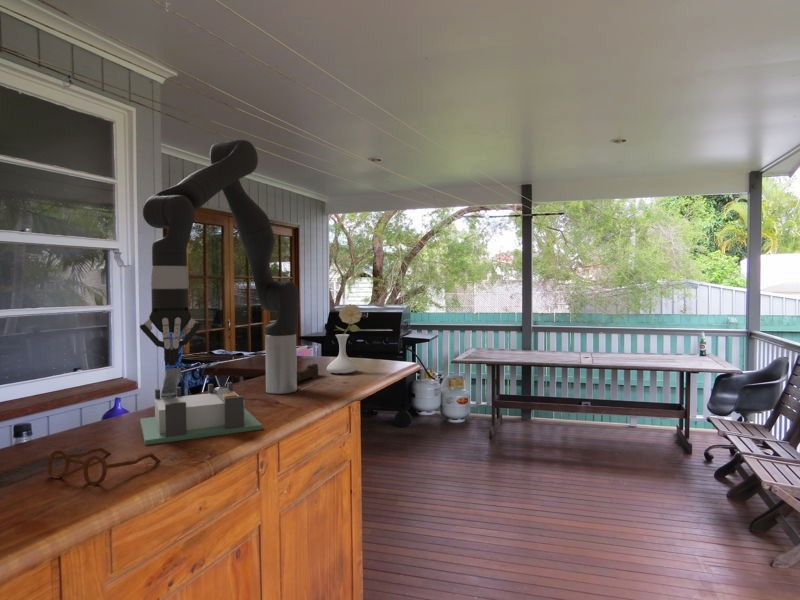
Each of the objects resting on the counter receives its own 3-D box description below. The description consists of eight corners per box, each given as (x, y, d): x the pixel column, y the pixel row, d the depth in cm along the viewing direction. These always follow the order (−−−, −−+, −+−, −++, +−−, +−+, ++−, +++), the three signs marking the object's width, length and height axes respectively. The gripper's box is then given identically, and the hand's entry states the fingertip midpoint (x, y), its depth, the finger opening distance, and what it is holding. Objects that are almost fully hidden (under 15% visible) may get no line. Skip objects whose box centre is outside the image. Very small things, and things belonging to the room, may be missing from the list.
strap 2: (213, 394, 133) (213, 386, 133) (226, 393, 135) (226, 385, 135) (226, 407, 119) (226, 398, 119) (240, 405, 120) (240, 397, 120)
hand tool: (294, 386, 171) (294, 372, 171) (283, 385, 173) (283, 371, 173) (324, 376, 189) (324, 363, 189) (315, 375, 190) (314, 362, 190)
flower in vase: (322, 375, 190) (322, 304, 189) (332, 369, 201) (331, 303, 200) (358, 376, 188) (358, 304, 187) (366, 370, 199) (365, 303, 198)
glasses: (45, 479, 93) (44, 450, 92) (109, 455, 105) (108, 430, 105) (102, 489, 88) (102, 459, 88) (162, 463, 100) (162, 437, 100)
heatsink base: (140, 422, 127) (139, 389, 127) (243, 410, 139) (242, 379, 138) (145, 445, 110) (144, 406, 110) (262, 429, 122) (261, 394, 121)
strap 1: (161, 401, 127) (160, 393, 128) (175, 399, 129) (174, 391, 129) (166, 376, 114) (165, 367, 115) (181, 374, 116) (180, 366, 117)
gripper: (199, 286, 125) (200, 361, 125) (136, 287, 118) (137, 365, 119) (204, 286, 118) (205, 365, 119) (137, 287, 112) (139, 370, 112)
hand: (171, 365), depth 119 cm, fingers closed
